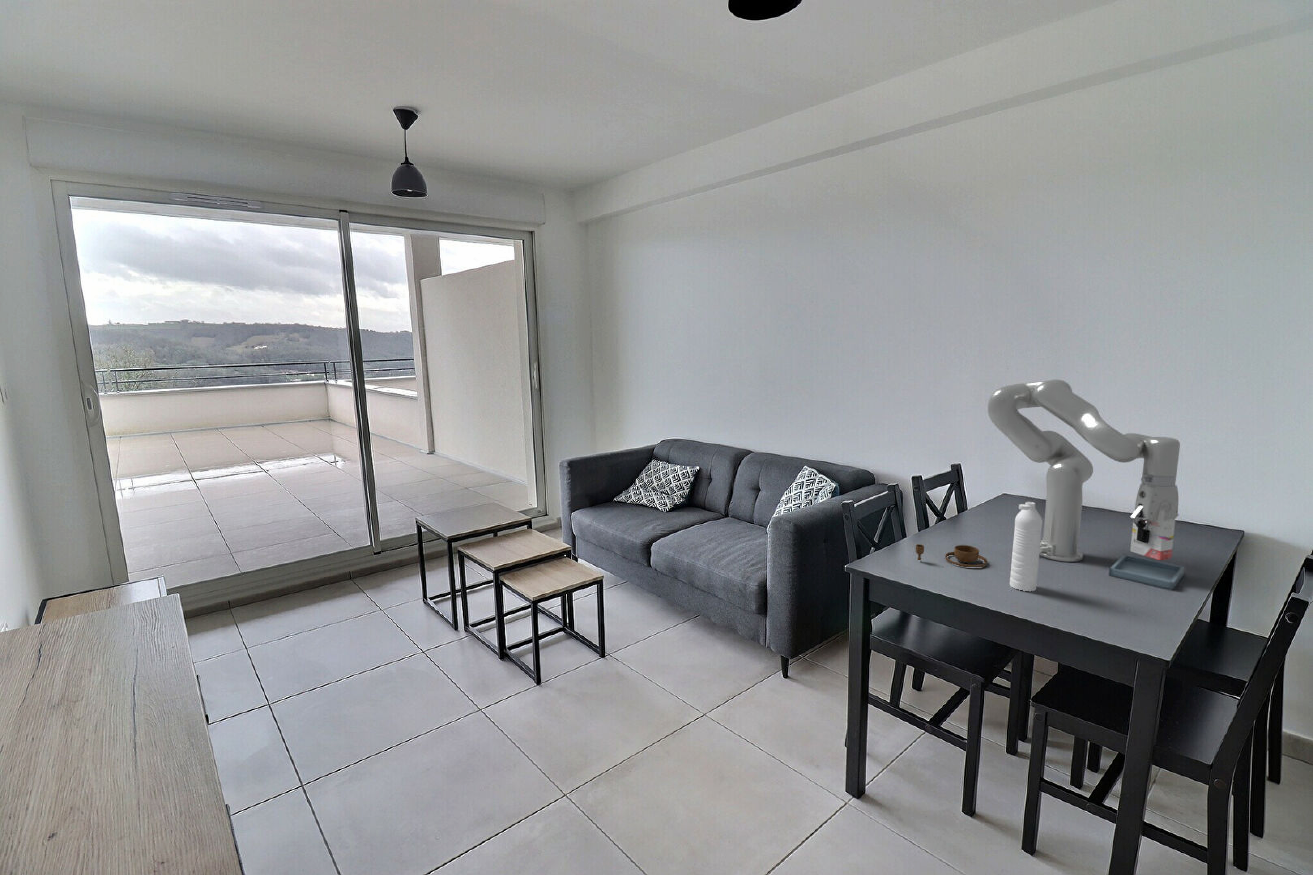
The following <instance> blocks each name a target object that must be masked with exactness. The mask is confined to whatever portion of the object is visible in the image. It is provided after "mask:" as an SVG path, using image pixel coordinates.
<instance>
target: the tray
mask: <svg viewBox="0 0 1313 875" xmlns="http://www.w3.org/2000/svg"><path fill="white" fill-rule="evenodd" d="M1185 570H1186V567H1185V566H1182V565H1178V564H1171V563H1168V562H1163V561H1159V560H1155V559H1153V560H1152V559H1148V558H1144V557H1139V556H1134V555H1129V554H1123V555H1122V556H1121V557H1120V558H1118V559H1117V561H1116V562H1115V563H1114V564H1112V566H1110V568H1109V570H1108V576H1109V577H1113V576H1114V577H1113V578H1117V579H1120V580H1121V579H1122V580H1126V581H1129V580H1130V582H1135V583H1139V584H1142V585H1143V584H1144V585H1145V586H1146V585H1147V586H1149V587H1155V588H1159V589H1163V590H1168V591H1174V589H1175V588H1176V586H1177V585H1178V584H1179V582H1180V581H1181V580H1182V578H1183V576H1184V575H1185V572H1186V571H1185Z"/></svg>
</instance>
